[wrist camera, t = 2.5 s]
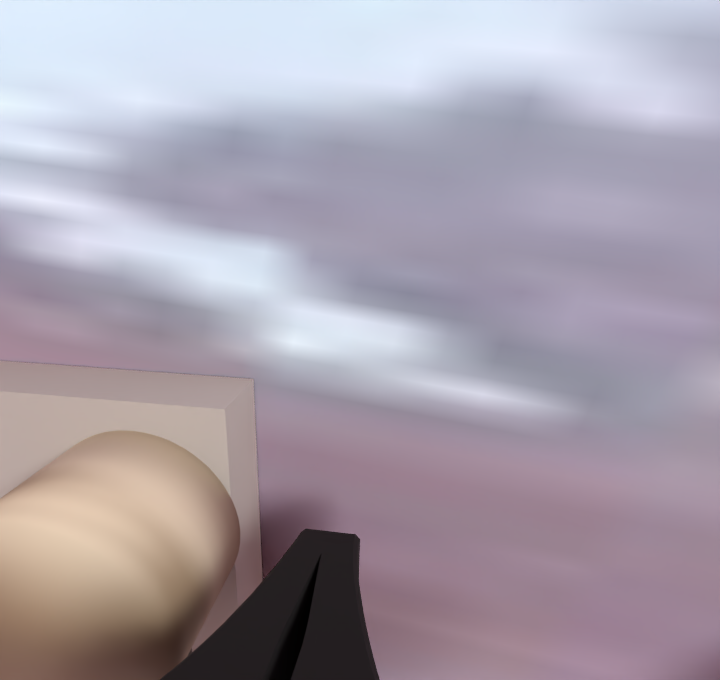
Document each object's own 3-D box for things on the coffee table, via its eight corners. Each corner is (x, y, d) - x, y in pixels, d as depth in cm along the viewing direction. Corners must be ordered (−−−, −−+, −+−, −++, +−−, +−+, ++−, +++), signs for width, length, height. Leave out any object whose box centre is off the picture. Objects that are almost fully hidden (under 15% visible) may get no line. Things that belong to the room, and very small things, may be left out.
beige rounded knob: (245, 612, 13) (185, 753, 10) (66, 588, 14) (-47, 713, 10) (235, 440, 12) (159, 538, 8) (34, 422, 12) (-112, 506, 9)
